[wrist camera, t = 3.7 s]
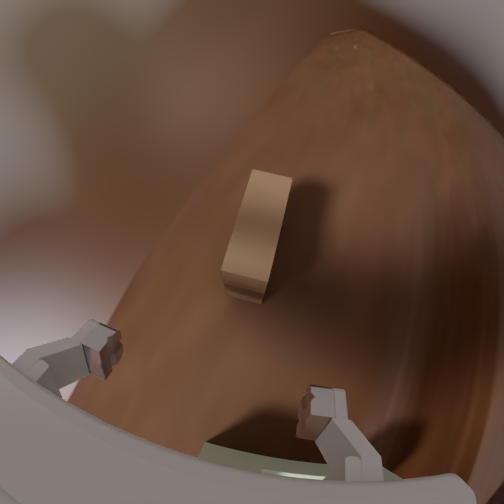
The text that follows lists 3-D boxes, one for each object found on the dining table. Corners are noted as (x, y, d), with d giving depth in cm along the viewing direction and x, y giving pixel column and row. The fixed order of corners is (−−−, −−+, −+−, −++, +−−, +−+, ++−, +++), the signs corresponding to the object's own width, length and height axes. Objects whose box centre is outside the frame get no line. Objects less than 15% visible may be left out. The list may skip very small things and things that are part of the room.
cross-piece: (250, 214, 27) (252, 169, 21) (281, 222, 27) (292, 178, 21) (226, 295, 25) (220, 269, 18) (261, 304, 24) (268, 282, 18)
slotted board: (205, 441, 20) (193, 464, 14) (381, 466, 19) (413, 485, 13) (198, 466, 19) (185, 493, 13) (373, 488, 18) (402, 511, 12)
